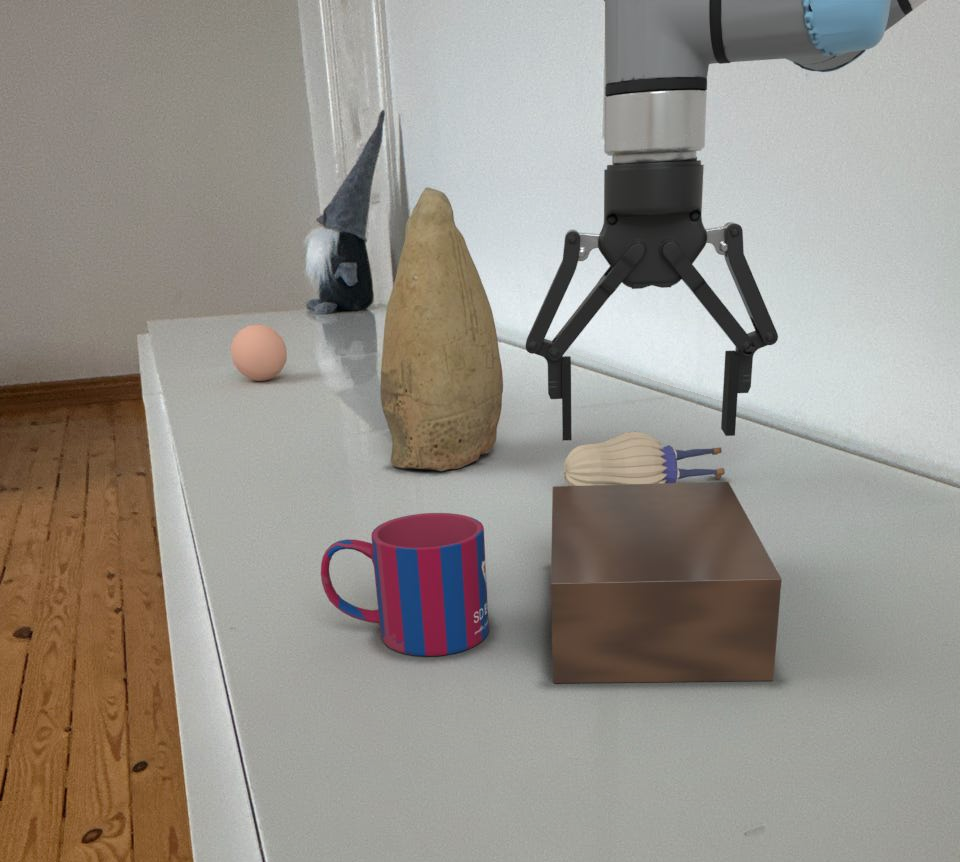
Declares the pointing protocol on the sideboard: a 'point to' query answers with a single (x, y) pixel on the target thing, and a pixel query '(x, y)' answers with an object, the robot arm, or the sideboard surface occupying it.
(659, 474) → the figurine
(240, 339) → the toy ball
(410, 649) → the mug
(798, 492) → the sideboard surface
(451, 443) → the sculpture
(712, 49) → the robot arm
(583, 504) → the walnut block
